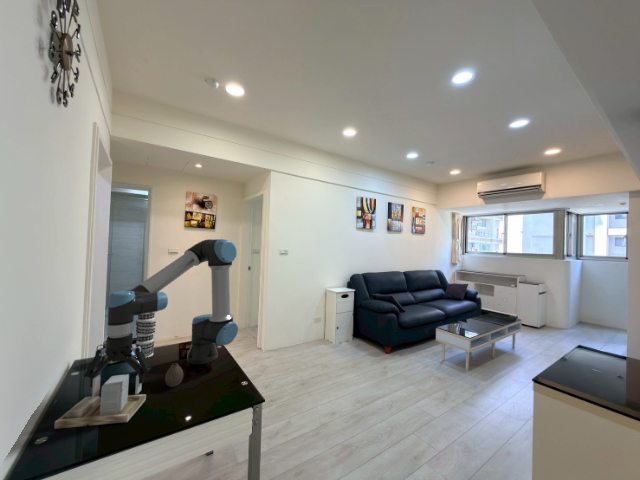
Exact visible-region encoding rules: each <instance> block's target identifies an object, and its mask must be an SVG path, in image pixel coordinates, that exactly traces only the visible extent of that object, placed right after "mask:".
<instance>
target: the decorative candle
mask: <svg viewBox="0 0 640 480" xmlns="http://www.w3.org/2000/svg"><path fill="white" fill-rule="evenodd" d="M155 313H156V312H150V313H145V314H140V315H137V320H136V321H135V322H136V323H135V326H136V327H135V332H136V334H135V336H136V343H135V347H139V346H142V352H143V354H144V356H145V358H146V359H147V357H148V358H150V357H152V356H153V355H154V352H155V351H154V350H155V347H154V346H155V344H154V343H155V341H154V334H155V332H156V328H155V327H156V323H157V321H155V319H156V317H155ZM134 355H135V354H134ZM135 357H136V355H135V356H134V358H135Z"/></svg>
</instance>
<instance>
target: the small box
mask: <svg viewBox="0 0 640 480" xmlns="http://www.w3.org/2000/svg"><path fill="white" fill-rule="evenodd" d="M129 379H130V374H129V373H127V374H119V375H111V376H110V377H109V379H107V381H105V382H104V383H103V384H102V386H101V387H100V389H101V390H100V398H101V405H100V416H106V415H117V414H119V413H120V412H121V410H122V409H123V407H124V406H125V404H126V403H127V398H128V395H129V381H130V380H129Z"/></svg>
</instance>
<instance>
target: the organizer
mask: <svg viewBox="0 0 640 480" xmlns="http://www.w3.org/2000/svg"><path fill="white" fill-rule="evenodd" d="M146 399H147V394H143V393H141V394H132V395H131V394H128V398H127V403H126V404H125V406H124V407H123V409H122V410H121V412H120V413H119V414H117V415H106V416H100V405H101V397H100V395H97V396H96V397H95V398H92V396H85V397H84V398H83V399H82V400H80V401H79V402H78V403H76V404H75V405H74V406H73V407H71V408H70V409H69V410H68V411H66V412H65V413H64V414H63V415H61V416H60V417H59V418H57V420H55V421H54V429H64V428H65V429H66V428H76V427H77V428H78V427H87V425H89V426H98V425H99V426H100V425H108V424H109V425H111V424H120V423H121V424H122V423H128V422H129V420H131V418H132V417H133V416H134V415H135V414H136V412H137V411H138V410H139V409H140V407H141V406H142V405H143V404H144V403H145V402H146Z"/></svg>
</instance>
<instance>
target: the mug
mask: <svg viewBox="0 0 640 480" xmlns="http://www.w3.org/2000/svg"><path fill="white" fill-rule="evenodd" d="M106 342H107V339H106V340H104V341H103V344H98V346H96V351H97V350H98V348H99V347H100V346H101V347H103V348H104V349H107V347H106ZM102 356H103V358H104V359H103V361H102V363H103V362H104V360H105V359H106V358H107V357H108V356H107V355H106V354H105V353H104V354H103V355H102ZM119 362H120V361H115V362H112V361H110V362H109V363H108V364H110V365H111V364H117V363H119ZM108 364H107V365H108Z"/></svg>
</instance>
